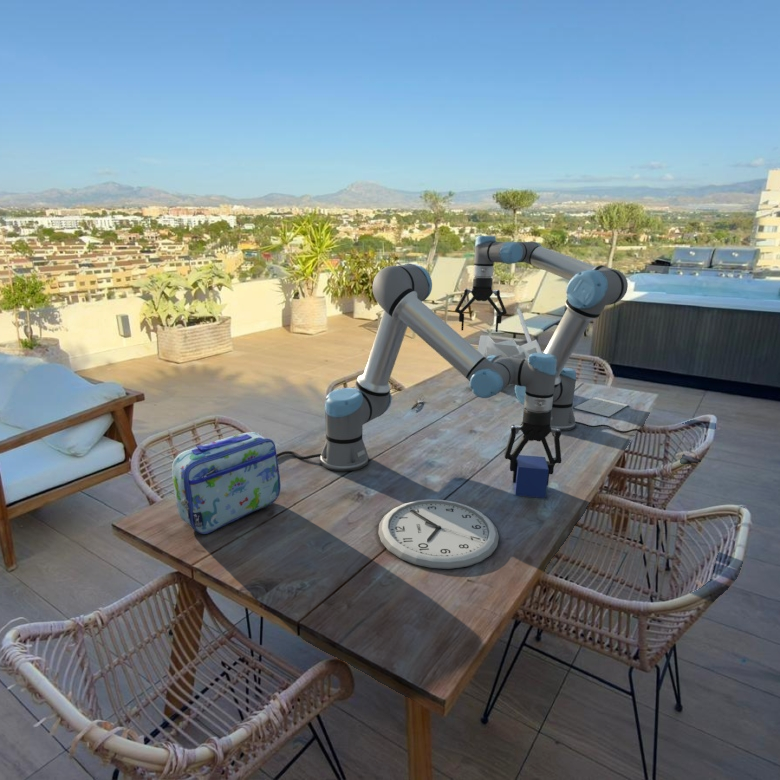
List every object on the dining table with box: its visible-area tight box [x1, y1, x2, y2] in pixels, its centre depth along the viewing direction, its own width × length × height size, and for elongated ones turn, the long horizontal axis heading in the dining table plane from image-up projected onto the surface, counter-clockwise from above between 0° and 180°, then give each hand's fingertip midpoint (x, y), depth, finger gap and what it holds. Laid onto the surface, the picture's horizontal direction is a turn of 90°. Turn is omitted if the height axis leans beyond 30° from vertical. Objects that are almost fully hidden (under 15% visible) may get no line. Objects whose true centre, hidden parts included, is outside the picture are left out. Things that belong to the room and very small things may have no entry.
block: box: [513, 454, 549, 499], centre depth 152 cm, size 8×9×9 cm
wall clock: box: [377, 498, 500, 570], centre depth 131 cm, size 30×2×30 cm
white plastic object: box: [477, 308, 543, 360], centre depth 255 cm, size 37×45×31 cm
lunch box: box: [171, 431, 281, 535], centre depth 134 cm, size 26×11×21 cm, turn 134°
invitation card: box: [573, 396, 629, 418], centre depth 226 cm, size 21×1×15 cm
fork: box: [411, 395, 426, 410], centre depth 224 cm, size 3×16×2 cm, turn 160°
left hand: (529, 482), depth 152 cm, fingers closed on block, 8 cm apart
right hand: (479, 330), depth 210 cm, fingers open, 13 cm apart
